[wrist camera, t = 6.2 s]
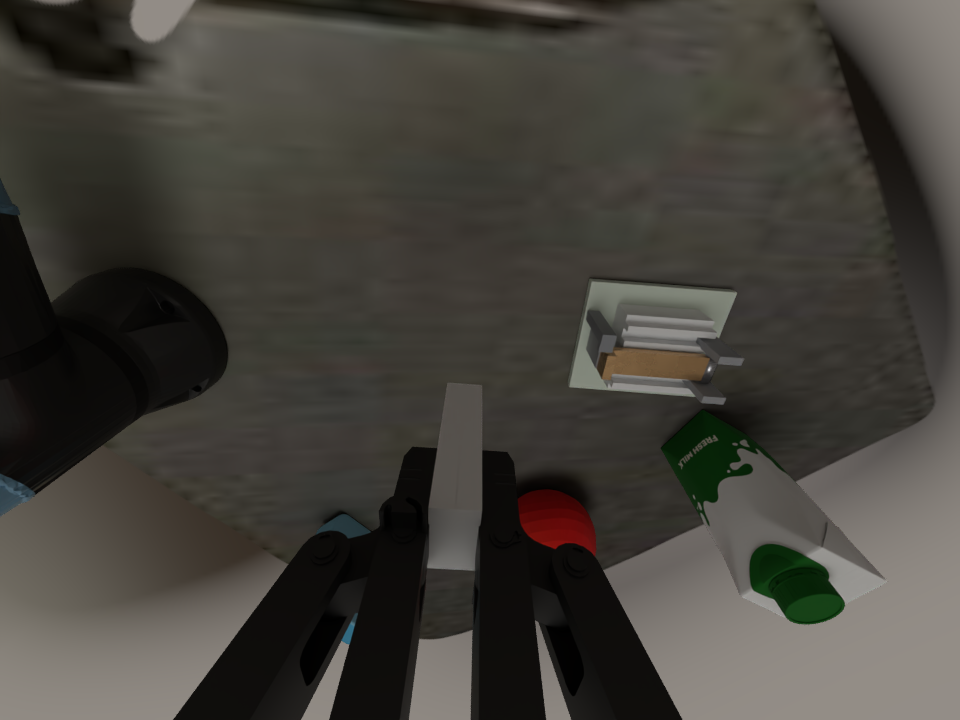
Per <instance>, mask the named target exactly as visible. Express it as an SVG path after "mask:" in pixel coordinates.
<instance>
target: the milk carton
mask: <svg viewBox="0 0 960 720" xmlns="http://www.w3.org/2000/svg"><path fill="white" fill-rule="evenodd" d="M661 450H662V451H663V453H664V455H665V457H666V458H667V460H668V462H669V464H670V465H671V467H672V469H673V471H674V472H675V474H676V476H677V478H678V479H679V481H680V483H681V485H682V486H683V488H684V490H685V491H686V493H687V495H688V497H689V498H690V500H691V502H692V504H693V505H694V507H695V509H696V510H697V512H698V514H699V516H700V517H701V519H702V521H703V523H704V524H705V526H706V528H707V530H708V531H709V533H710V535H711V536H712V538H713V540H714V542H715V543H716V545H717V547H718V549H719V550H720V552H721V553H722V555H723V557H724V559H725V561H726V563H727V566H728V568H729V570H730V573H731V575H732V577H733V580H734V582H735V585H736V587H737V589H738V592H739V594H740V595H741V597H742V598H744V599H747V600H749V601H751V602H753V603H755V604H757V605H759V606H761V607H763V608H766V609H768V610H770V611H772V612H774V613H775V614H777V615H779V616H781V617H784V618H787V619H789V621H791V622H794V623H797V624H804V625H806V624H816V623H820V622H824V621H827V620H830V619H832V618H834V617H836V616H837V615H838V614H840V613H841V612H842V610H843V609H844V606H845V604H847V603H849V602H851V601H852V600H854V599H856V598H858V597H860V596H862V595H864V594H866V593H868V592H870V591H872V590H874V589H876V588H877V587H879V586H881V585H883V584H885V583H887V582H888V581H887V580H886V579H885V578H884V577H883V576H882V575H881V574H880V573H879V572H878V571H877V570H876V569H875V567H874V566H873V565H872V564H871V563H870V562H869V561H868V560H867V559H866V558H865V557H864V556H863V555H862V554H861V552H860V551H859V550H858V549H857V548H856V547H855V546H854V545H853V544H852V543H851V542H850V541H849V540H848V538H847V537H846V536H845V535H844V533H843V532H842V531H841V530H840V529H839V527H837V526H835V524H834V523H833V522H832V521H831V520H830V519H829V518H828V517H827V515H825V513H824V512H823V511H822V510H821V509H820V508H819V507H818V506H817V504H816V503H815V502H814V501H813V500H812V499H811V498H810V497H809V496H808V495H807V494H806V493H805V492H804V491H803V490H802V489H801V487H800V486H799V485H798V484H797V483H796V482H795V481H794V480H793V479H792V478H791V477H790V476H789V475H788V474H787V473H786V472H785V470H784V469H783V468H782V467H781V466H780V465H779V464H778V463H777V462H776V461H775V460H774V459H773V458H772V457H771V456H770V455H769V454H768V453H767V452H766V451H765V450H764V449H763V448H762V447H761V446H759V445H758V444H757V443H756V442H754V441H753V440H752V439H751V438H750V437H748V436H747V435H746V434H744V433H743V432H741V431H739V430H737V429H736V428H734V427H732V426H731V425H729V424H727V423H725V422H724V421H722V420H720V419H718V418H717V417H715V416H713V415H711V414H710V413H708V412H706V411H705V410H702V411H700V412H699V413H698V414H697V415H696V416H695V417H694V418H693V419H692V420H691V421H690V422H689V423H688V424H686V425H685V426H684V427H683V428H682V429H681V430H680V431H679V432H678V433H677V434H676V435H675V436H674V437H672V438H671V439H670V440H669V441H668V442H667V443H666V444H665V445H664V446H663V447H662V448H661Z"/></svg>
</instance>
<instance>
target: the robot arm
mask: <svg viewBox="0 0 960 720" xmlns="http://www.w3.org/2000/svg"><path fill="white" fill-rule="evenodd" d="M17 215H20V211H19V209H18V207H17V206H15V205H14V204H12V202H11V200H10V198H9V196H8V194H7V192H6V190H5V188H4V186H3V183H2V181H1V179H0V516H2V515H3V514H5V513H7V512H8V511H10V510H11V509H13V508H14V507H16V506H17V505H18V504H20V503H24V502H27V501H29V500H30V499H31V498H32V497H34V495H36V494H37V493H38V492H40V491H41V490H42V489H44V488H45V487H47V486H48V485H49V484H51V483H52V482H53V481H55V480H56V479H57V478H58V477H60V476H61V475H62V474H64V473H65V472H67V471H68V470H69V469H71V468H72V467H73V466H75V465H76V464H77V463H79V462H80V461H82V460H83V459H84V458H86V457H87V456H88V455H90V454H91V453H92V452H94V451H95V450H96V449H98V448H99V447H101V446H102V445H103V444H105V443H106V442H107V441H109V440H110V439H111V438H113V437H114V436H115V435H117V434H118V433H119V432H121V431H122V430H123V429H125V428H126V427H127V426H129V425H130V424H132V423H133V422H134V421H136V420H137V419H139V418H140V417H142V416H143V415H146V414H149V413H152V412H155V411H158V410H161V409H164V408H167V407H170V406H173V405H176V404H179V403H182V402H185V401H188V400H191V399H193V398H195V397H197V396H199V395H201V394H202V393H203V392H205V391H206V390H207V389H209V388H210V387H211V386H212V385H214V384H215V383H216V382H217V381H218V380H219V379H220V378H221V376H222V374H223V373H224V370H225V367H226V363H227V348H226V343H225V339H224V336H223V334H222V331H221V329H220V327H219V326H218V324H217V322H216V320H215V319H214V317H213V316H212V315H211V313H210V312H209V311H208V310H207V308H206V307H205V306H204V305H203V304H202V303H201V302H200V301H199V300H198V299H197V298H196V297H195V296H194V295H192V294H191V293H190V292H189V291H187V290H186V289H185V288H183V287H182V286H180V285H179V284H177V283H175V282H174V281H172V280H170V279H168V278H166V277H164V276H161V275H159V274H156V273H153V272H150V271H146V270H142V269H137V268H116V269H111V270H108V271H104V272H101V273H97V274H94V275H90V276H88V277H86V278H84V279H82V280H80V281H78V282H77V283H75V284H74V285H73V286H72V287H71V288H69V289H68V290H67V291H65V292H64V293H63V294H61V295H60V296H59V297H58V298H56V299H55V300H54V301H53V302H50V300H49V297H48V295H47V292H46V290H45V287H44V285H43V282H42V280H41V277H40V275H39V272H38V270H37V267H36V265H35V262H34V259H33V257H32V254H31V251H30V248H29V246H28V243H27V240H26V237H25V235H24V232H23V229H22V227H21V224H20V221H19V218H18V216H17ZM379 519H380V527H379V528H378V529H376V530H374V531H372V532H370V533H367V534H364V535H361V536H356V537H352V538H347V536H346V535H345V534H343V533H341V532H339V531H332V530H329V531H324V532H320V533H318V534H316V535H315V536H313V537H311V538H310V539H309V540H308V541H307V542H306V543H305V544H304V545H303V546H302V547H301V548H300V550H299V551H298V552H297V554H296V555H295V557H294V558H293V559H292V561H291V562H290V563H289V565H288V566H287V567H286V569H285V570H284V571H283V573H282V574H281V575H280V577H279V578H278V579H277V581H276V582H275V583H274V585H273V586H272V587H271V589H270V590H269V592H268V593H267V595H266V596H265V597H264V598H263V600H262V601H261V602H260V604H259V605H258V606H257V608H256V609H255V610H254V612H253V613H252V614H251V616H250V617H249V618H248V620H247V621H246V623H245V624H244V625H243V626H242V628H241V629H240V630H239V632H238V633H237V635H236V636H235V637H234V639H233V640H232V641H231V643H230V644H229V645H228V647H227V648H226V649H225V651H224V652H223V653H222V655H221V656H220V657H219V659H218V660H217V661H216V663H215V664H214V666H213V667H212V668H211V669H210V671H209V672H208V674H207V675H206V677H205V678H204V679H203V680H202V682H201V683H200V684H199V686H198V687H197V688H196V690H195V691H194V692H193V694H192V695H191V697H190V698H189V699H188V701H187V702H186V703H185V705H184V706H183V707H182V709H181V710H180V711H179V713H178V714H177V715H176V717H175V718H174V719H173V720H301V718H302V717H303V715H304V713H305V711H306V709H307V707H308V705H309V703H310V701H311V699H312V697H313V695H314V693H315V691H316V689H317V687H318V685H319V683H320V681H321V679H322V677H323V676H324V674H325V672H326V670H327V668H328V666H329V664H330V662H331V660H332V658H333V656H334V654H335V652H336V650H337V648H338V646H339V644H340V642H341V640H342V638H343V636H344V634H345V632H346V631H347V629H348V627H349V625H350V623H351V621H352V619H353V617H354V615H355V614H356V613H358V615H357V619H356V623H355V626H354V630H353V634H352V637H351V641H350V645H349V649H348V652H347V656H346V660H345V663H344V667H343V671H342V674H341V678H340V682H339V685H338V689H337V693H336V696H335V700H334V704H333V708H332V711H331V715H330V719H329V720H409V713H410V705H411V698H412V690H413V682H414V674H415V666H416V659H417V651H418V643H419V635H420V628H421V620H422V612H423V604H424V597H425V589H426V573H427V568H437V569H456V570H475V582H474V590H473V598H472V604H473V636H472V640H473V641H472V683H471V720H546V715H545V707H544V698H543V689H542V681H541V671H540V662H539V653H538V644H537V635H536V626H535V620H536V621H538V622H539V625H540V628H541V631H542V634H543V637H544V640H545V643H546V646H547V649H548V651H549V655H550V657H551V661H552V663H553V666H554V669H555V672H556V675H557V678H558V681H559V684H560V687H561V690H562V693H563V696H564V699H565V702H566V705H567V708H568V711H569V714H570V717H571V720H682V718H681V716H680V714H679V712H678V711H677V709H676V707H675V705H674V703H673V701H672V699H671V697H670V695H669V694H668V692H667V690H666V688H665V686H664V685H663V683H662V680H661V679H660V677H659V675H658V673H657V671H656V669H655V667H654V665H653V664H652V662H651V660H650V658H649V656H648V654H647V653H646V650H645V649H644V647H643V645H642V643H641V641H640V639H639V637H638V635H637V633H636V632H635V630H634V628H633V626H632V624H631V622H630V620H629V618H628V617H627V615H626V613H625V611H624V609H623V607H622V605H621V604H620V602H619V600H618V598H617V596H616V594H615V592H614V590H613V589H612V587H611V585H610V583H609V581H608V579H607V577H606V575H605V573H604V571H603V570H602V568H601V566H600V564H599V562H598V560H597V559H596V558H595V556H594V555H593V554H592V552H590V551H589V550H588V549H586V548H585V547H584V546H581V545H578V544H576V543H564V544H562V545H559V546H558V547H557V548H556V549H554V548H551V547H549V546H546V545H543V544H541V543H539V542H537V541H535V540H533V539H532V538H531V537H529V536H528V534H527V533H526V532H525V531H524V529H523V527H522V526H521V522H520V516H519V507H518V497H517V488H516V478H515V469H514V462H513V460H512V459H511V457H510V456H509V454H508V452H499V451H484V450H482V385H473V384H459V383H447V390H446V396H445V403H444V409H443V416H442V422H441V429H440V435H439V442H438V448H424V447H412V448H411V449H410V450H409V451H408V452H407V454H406V455H405V456H404V459H403V463H402V466H401V470H400V474H399V479H398V482H397V485H396V489H395V493H394V496H393V497H390V498H389V499H388V500H386V501H385V502H384V503H383V504H382V506H381V508H380V510H379Z"/></svg>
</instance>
